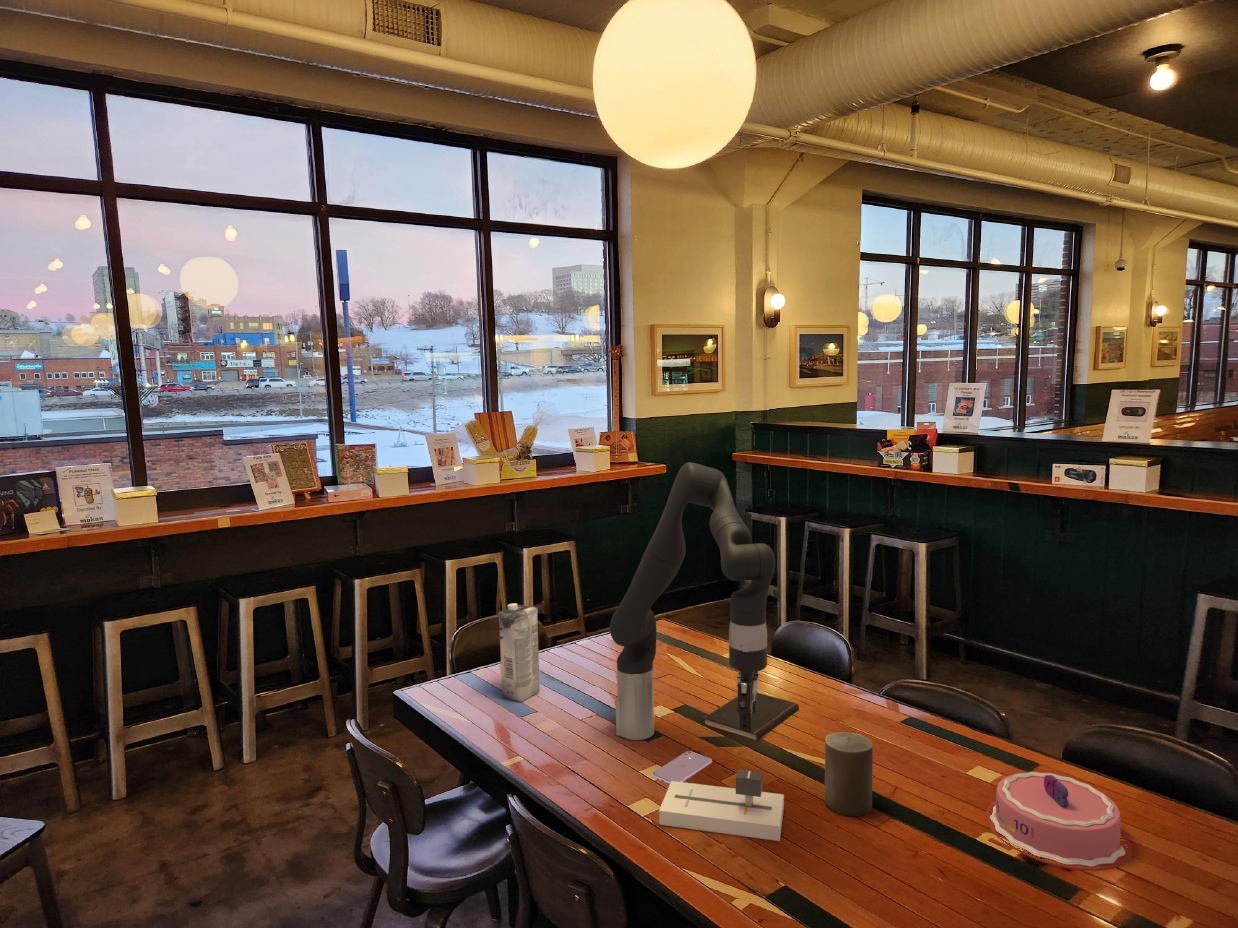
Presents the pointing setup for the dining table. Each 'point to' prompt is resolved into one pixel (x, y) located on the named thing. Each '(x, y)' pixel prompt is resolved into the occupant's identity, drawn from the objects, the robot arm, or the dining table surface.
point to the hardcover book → (753, 716)
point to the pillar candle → (848, 773)
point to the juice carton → (519, 652)
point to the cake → (1059, 821)
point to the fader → (749, 785)
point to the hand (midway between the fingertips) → (748, 720)
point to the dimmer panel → (722, 811)
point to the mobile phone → (682, 767)
